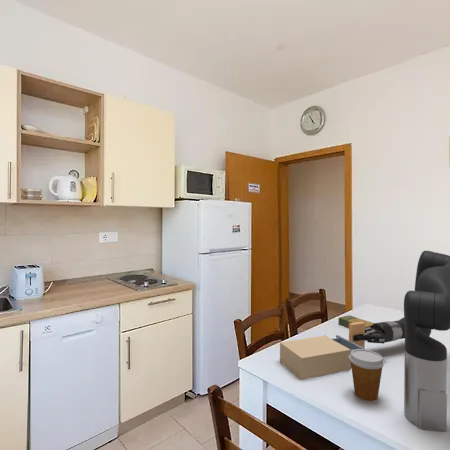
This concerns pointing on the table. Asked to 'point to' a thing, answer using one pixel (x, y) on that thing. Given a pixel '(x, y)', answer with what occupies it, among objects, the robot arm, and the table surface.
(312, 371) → the box lid
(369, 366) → the disposable coffee cup
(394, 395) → the table surface
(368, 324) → the carton
